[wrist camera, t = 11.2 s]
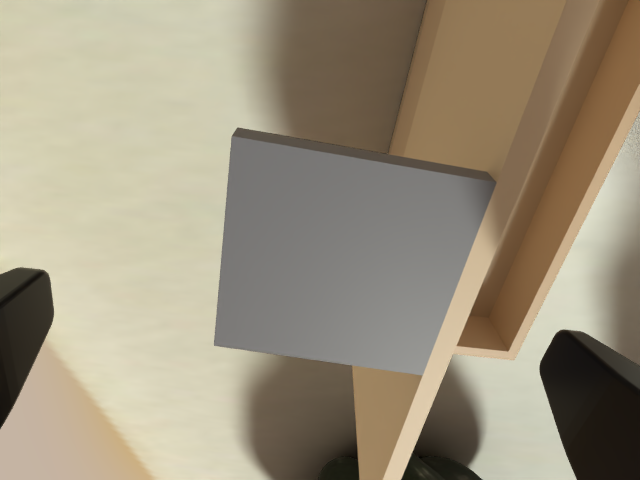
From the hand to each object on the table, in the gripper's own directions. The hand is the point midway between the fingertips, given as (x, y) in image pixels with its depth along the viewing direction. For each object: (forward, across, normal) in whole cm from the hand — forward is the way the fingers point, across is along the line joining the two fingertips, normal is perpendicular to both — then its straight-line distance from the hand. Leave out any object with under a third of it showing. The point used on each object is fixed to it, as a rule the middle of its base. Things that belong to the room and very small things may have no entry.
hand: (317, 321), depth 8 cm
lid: (+6, -4, 0) cm, 7 cm away
